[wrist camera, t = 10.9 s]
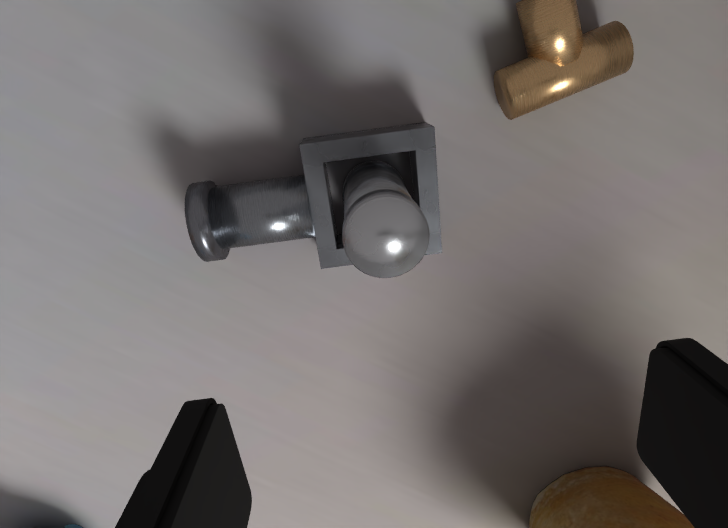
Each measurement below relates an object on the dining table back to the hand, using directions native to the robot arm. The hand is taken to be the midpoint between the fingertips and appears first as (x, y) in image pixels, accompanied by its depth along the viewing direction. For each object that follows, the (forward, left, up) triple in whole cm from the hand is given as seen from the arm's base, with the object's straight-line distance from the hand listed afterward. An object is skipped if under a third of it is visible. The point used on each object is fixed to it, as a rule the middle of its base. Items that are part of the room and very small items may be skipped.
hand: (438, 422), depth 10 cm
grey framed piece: (+4, 0, -22) cm, 23 cm away
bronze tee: (-11, -8, -22) cm, 26 cm away
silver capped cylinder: (0, 0, -22) cm, 22 cm away
